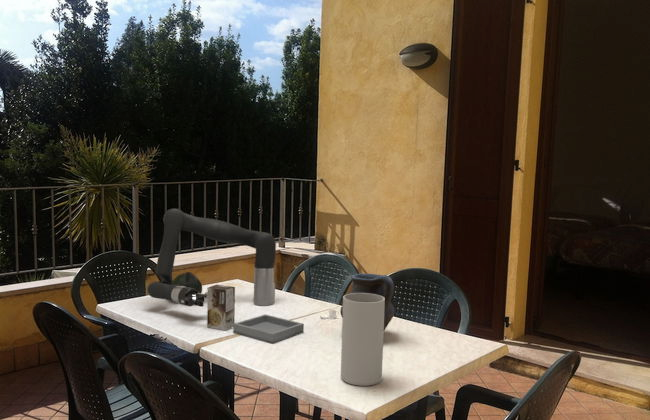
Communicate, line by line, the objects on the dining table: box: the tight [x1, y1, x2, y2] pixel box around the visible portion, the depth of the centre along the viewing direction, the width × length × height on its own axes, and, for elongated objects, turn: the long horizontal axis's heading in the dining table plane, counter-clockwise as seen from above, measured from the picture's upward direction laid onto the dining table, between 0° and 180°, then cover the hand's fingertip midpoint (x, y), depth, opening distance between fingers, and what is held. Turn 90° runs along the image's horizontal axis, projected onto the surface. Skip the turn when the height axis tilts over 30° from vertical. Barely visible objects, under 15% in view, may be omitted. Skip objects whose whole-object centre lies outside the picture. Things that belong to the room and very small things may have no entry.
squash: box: [172, 271, 203, 294], centre depth 250 cm, size 14×15×15 cm
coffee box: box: [206, 284, 236, 331], centre depth 210 cm, size 9×6×16 cm
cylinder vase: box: [340, 293, 385, 387], centre depth 161 cm, size 12×12×25 cm
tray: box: [232, 314, 305, 345], centre depth 205 cm, size 18×20×4 cm
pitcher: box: [339, 273, 396, 332], centre depth 203 cm, size 21×22×25 cm
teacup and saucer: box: [319, 308, 342, 322], centre depth 228 cm, size 9×8×4 cm
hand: (211, 302), depth 213 cm, fingers open, 8 cm apart
